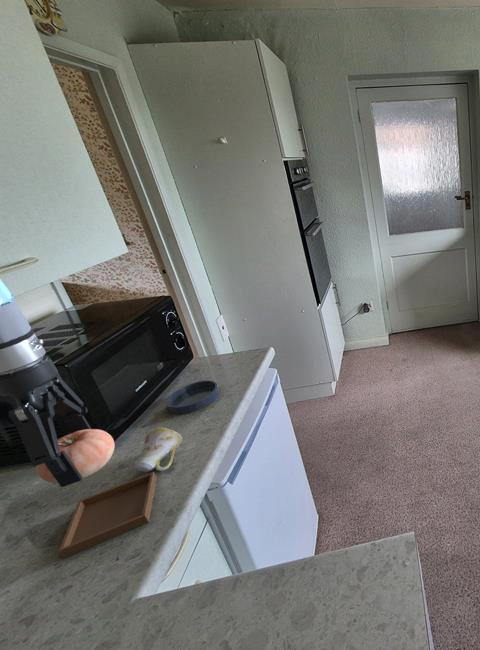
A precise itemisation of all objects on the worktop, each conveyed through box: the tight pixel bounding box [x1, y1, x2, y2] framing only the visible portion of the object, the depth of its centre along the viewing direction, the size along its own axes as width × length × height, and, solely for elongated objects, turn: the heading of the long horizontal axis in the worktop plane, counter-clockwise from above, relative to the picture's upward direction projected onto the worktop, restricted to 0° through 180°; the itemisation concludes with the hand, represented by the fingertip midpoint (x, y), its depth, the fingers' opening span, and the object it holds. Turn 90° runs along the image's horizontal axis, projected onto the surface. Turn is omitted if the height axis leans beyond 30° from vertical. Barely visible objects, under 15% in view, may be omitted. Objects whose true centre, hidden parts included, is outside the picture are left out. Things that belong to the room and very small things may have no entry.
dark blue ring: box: [165, 379, 221, 415], centre depth 114 cm, size 13×13×2 cm
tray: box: [57, 471, 158, 559], centre depth 78 cm, size 13×13×2 cm
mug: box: [134, 427, 183, 473], centre depth 92 cm, size 8×10×10 cm
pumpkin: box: [35, 428, 116, 485], centre depth 72 cm, size 11×11×8 cm
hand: (81, 462), depth 73 cm, fingers closed on pumpkin, 11 cm apart
